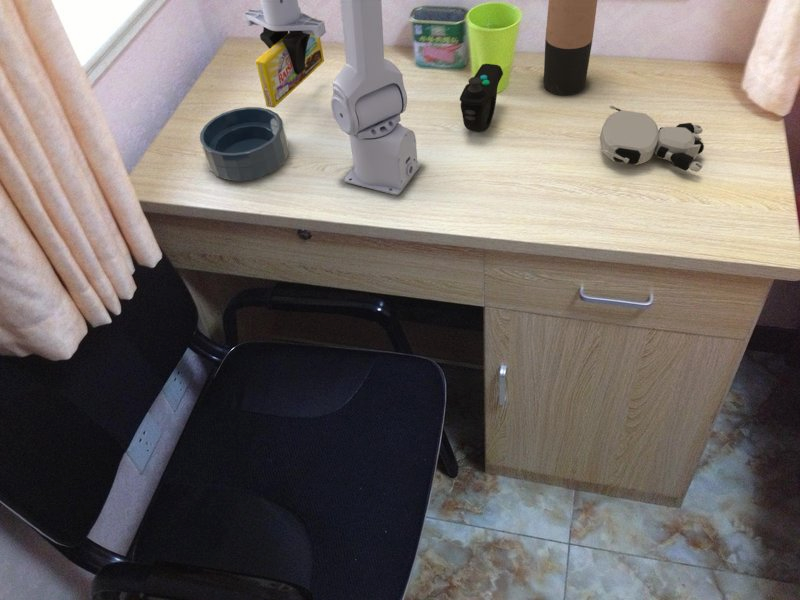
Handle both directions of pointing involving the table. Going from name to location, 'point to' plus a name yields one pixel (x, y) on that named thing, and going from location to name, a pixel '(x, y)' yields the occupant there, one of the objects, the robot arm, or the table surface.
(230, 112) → the bowl
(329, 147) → the table surface
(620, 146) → the robot toy
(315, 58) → the candy box
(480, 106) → the controller
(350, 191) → the table surface
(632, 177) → the table surface
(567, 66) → the travel mug
